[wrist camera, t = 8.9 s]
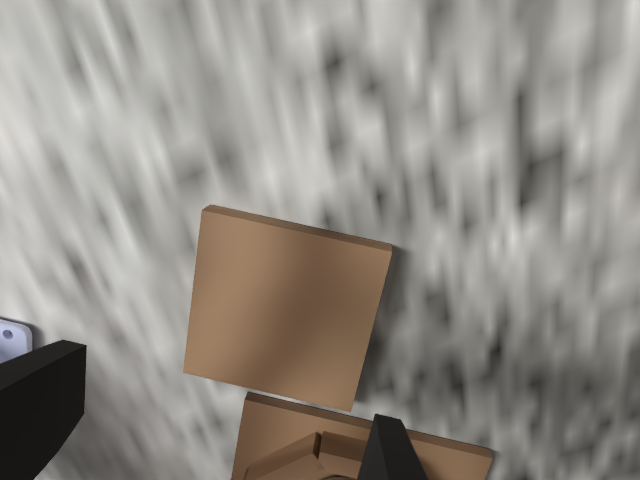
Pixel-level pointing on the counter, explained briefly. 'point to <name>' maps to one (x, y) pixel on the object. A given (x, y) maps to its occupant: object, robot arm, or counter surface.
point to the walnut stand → (283, 306)
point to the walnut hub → (332, 445)
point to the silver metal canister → (340, 478)
